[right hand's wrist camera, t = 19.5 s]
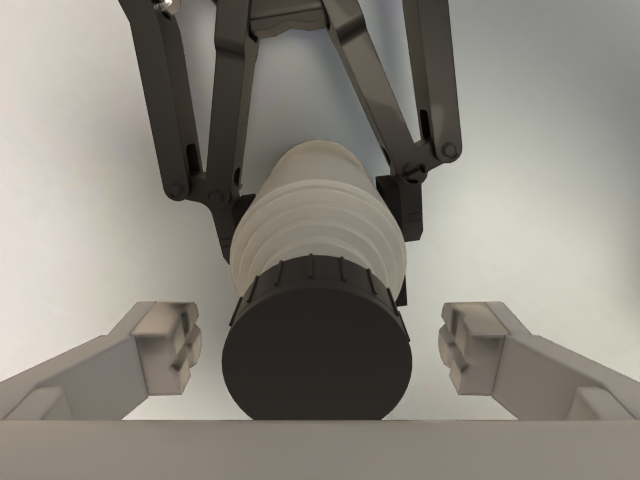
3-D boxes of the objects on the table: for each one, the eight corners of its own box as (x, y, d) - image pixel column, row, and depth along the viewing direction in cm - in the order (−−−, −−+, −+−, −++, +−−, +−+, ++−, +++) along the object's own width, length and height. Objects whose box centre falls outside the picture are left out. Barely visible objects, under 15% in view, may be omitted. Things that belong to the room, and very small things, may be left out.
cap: (384, 395, 11) (396, 447, 9) (233, 383, 11) (218, 433, 9) (414, 261, 9) (434, 295, 8) (237, 244, 9) (218, 275, 7)
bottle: (264, 224, 26) (173, 432, 10) (279, 129, 24) (192, 200, 7) (354, 241, 26) (407, 467, 10) (377, 151, 24) (495, 261, 8)
